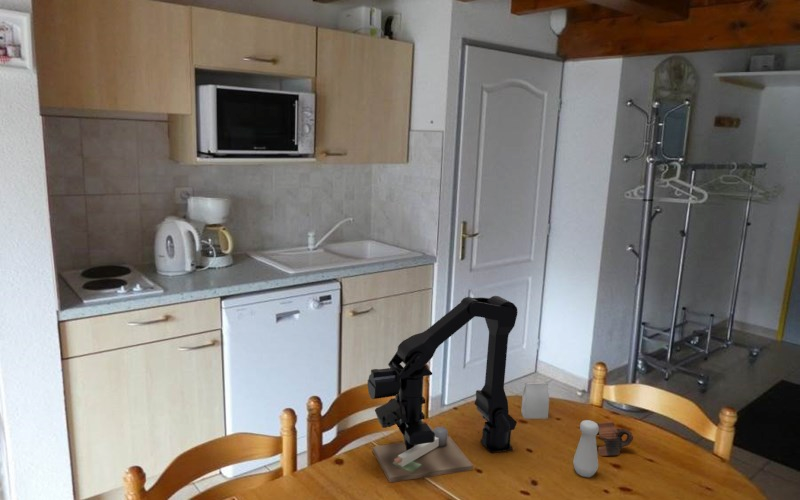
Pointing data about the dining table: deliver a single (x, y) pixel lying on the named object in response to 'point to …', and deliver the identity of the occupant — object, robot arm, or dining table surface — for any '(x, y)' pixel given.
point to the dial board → (422, 461)
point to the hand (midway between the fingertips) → (408, 451)
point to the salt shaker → (587, 450)
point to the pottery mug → (612, 439)
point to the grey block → (535, 401)
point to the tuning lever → (423, 447)
